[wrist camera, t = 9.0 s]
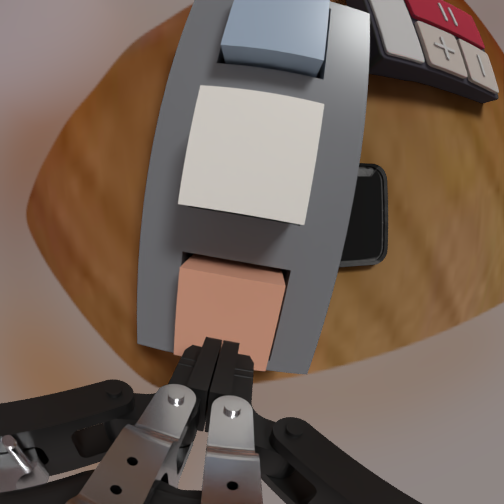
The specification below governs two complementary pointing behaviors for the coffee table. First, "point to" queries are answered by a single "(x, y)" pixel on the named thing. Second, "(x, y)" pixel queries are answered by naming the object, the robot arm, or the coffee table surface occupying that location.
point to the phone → (367, 219)
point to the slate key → (277, 35)
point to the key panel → (246, 226)
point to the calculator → (428, 46)
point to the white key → (251, 153)
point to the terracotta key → (228, 305)
